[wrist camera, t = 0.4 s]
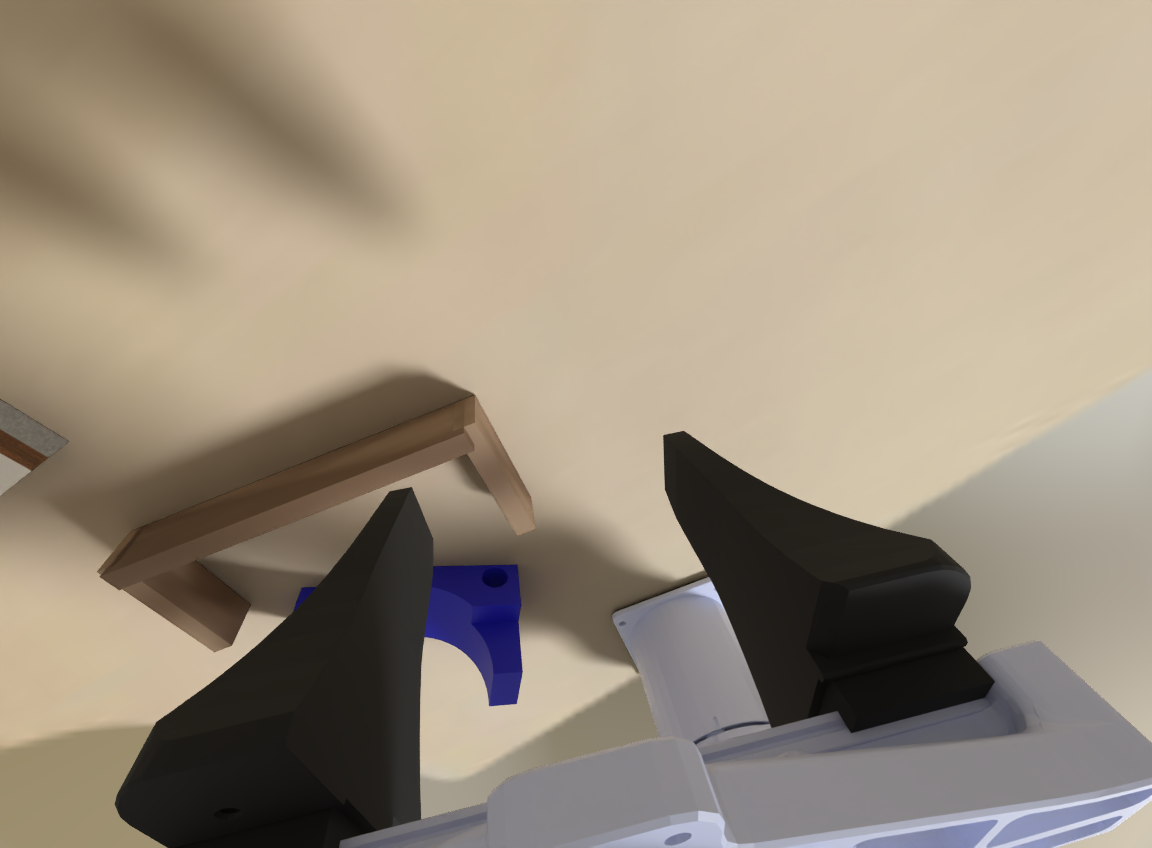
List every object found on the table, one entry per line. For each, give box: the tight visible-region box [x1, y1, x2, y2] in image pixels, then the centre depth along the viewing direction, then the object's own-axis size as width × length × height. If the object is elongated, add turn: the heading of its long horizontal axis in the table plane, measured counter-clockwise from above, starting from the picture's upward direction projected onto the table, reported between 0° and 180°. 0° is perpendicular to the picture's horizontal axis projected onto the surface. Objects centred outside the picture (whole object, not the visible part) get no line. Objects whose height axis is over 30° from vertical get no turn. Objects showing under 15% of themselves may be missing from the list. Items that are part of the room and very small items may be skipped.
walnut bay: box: [97, 395, 535, 652], centre depth 23 cm, size 7×18×3 cm, turn 109°
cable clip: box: [293, 565, 523, 706], centre depth 26 cm, size 12×4×6 cm, turn 80°
